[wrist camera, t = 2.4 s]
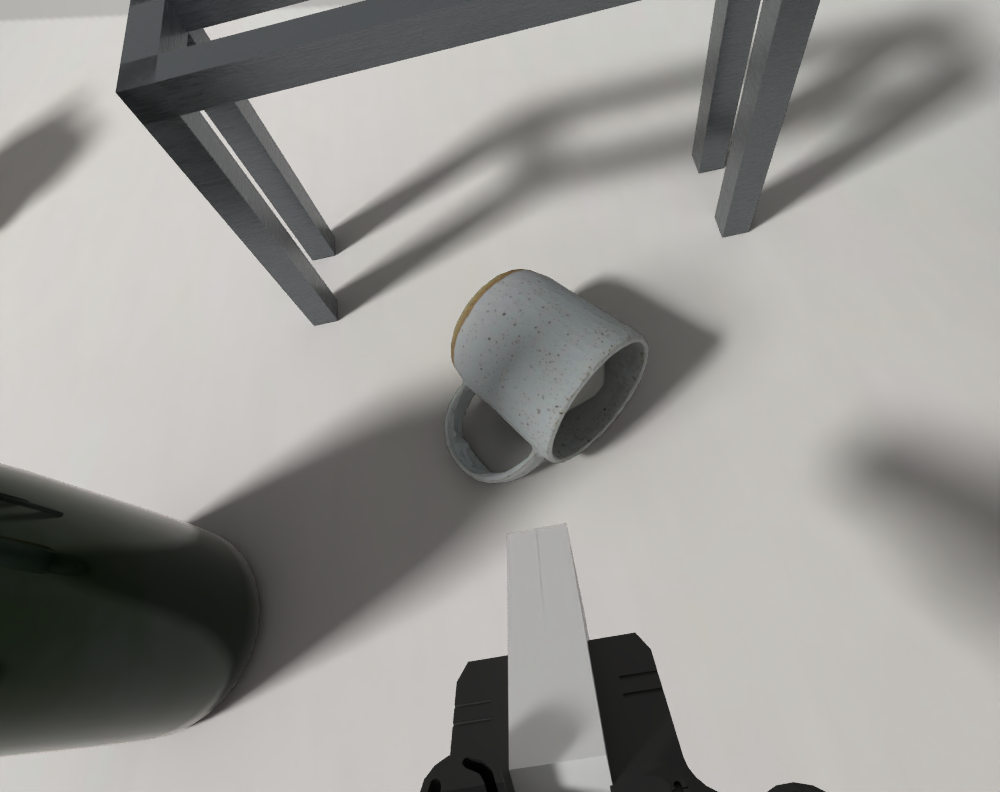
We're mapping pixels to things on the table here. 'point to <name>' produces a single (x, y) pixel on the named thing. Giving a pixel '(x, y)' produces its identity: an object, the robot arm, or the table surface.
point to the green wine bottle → (111, 618)
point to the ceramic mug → (540, 369)
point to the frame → (390, 38)
